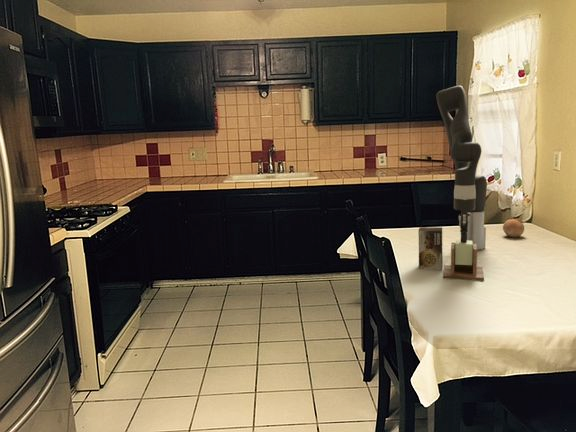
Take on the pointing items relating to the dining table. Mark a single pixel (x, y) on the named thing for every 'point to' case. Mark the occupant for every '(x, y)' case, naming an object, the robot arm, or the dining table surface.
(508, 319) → the dining table surface
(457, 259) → the block
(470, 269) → the chute
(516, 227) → the onion
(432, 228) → the coffee box
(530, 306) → the dining table surface
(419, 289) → the dining table surface
